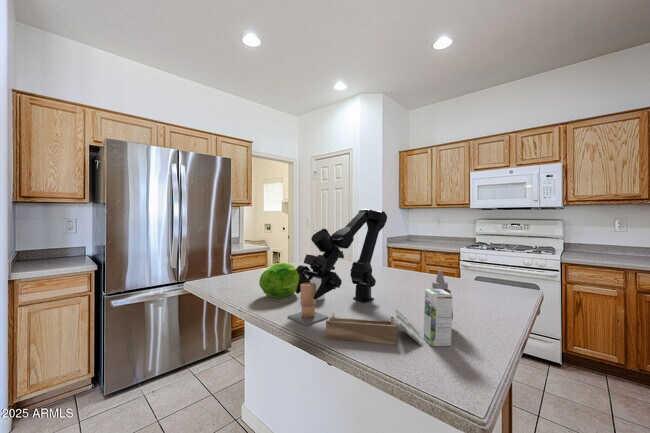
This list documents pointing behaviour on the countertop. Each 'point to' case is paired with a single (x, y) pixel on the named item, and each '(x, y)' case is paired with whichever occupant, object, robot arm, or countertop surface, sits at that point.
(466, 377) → the countertop surface
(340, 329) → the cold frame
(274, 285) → the lettuce
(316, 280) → the white cup
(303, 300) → the peach domed cylinder
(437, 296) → the syrup box
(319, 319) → the slate tile
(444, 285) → the squeeze bottle
